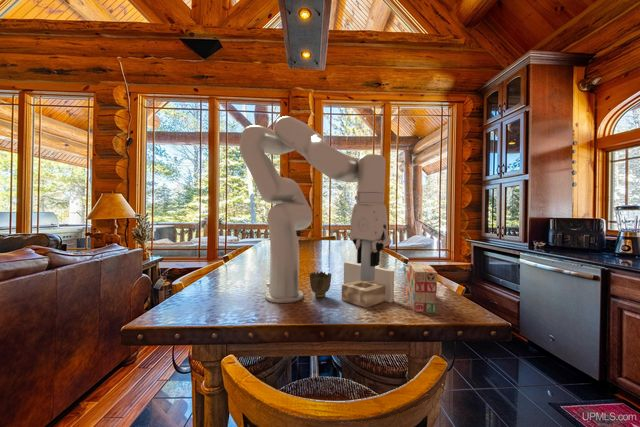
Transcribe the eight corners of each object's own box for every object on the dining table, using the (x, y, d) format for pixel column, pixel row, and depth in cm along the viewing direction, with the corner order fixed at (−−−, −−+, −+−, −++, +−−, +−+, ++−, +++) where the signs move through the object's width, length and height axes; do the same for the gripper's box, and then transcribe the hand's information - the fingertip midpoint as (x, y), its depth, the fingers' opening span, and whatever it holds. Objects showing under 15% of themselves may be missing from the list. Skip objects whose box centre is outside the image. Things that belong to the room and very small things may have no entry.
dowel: (357, 278, 81) (359, 236, 81) (365, 276, 84) (367, 235, 84) (369, 281, 79) (371, 237, 78) (377, 279, 82) (379, 237, 81)
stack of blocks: (404, 291, 105) (404, 257, 105) (421, 292, 104) (422, 258, 104) (414, 312, 84) (414, 270, 84) (436, 314, 83) (437, 271, 83)
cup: (335, 297, 97) (336, 273, 97) (321, 302, 92) (321, 277, 92) (319, 292, 102) (319, 270, 102) (304, 297, 97) (304, 273, 97)
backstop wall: (343, 289, 107) (343, 262, 107) (347, 288, 108) (347, 261, 108) (390, 302, 92) (390, 271, 92) (393, 301, 94) (394, 270, 94)
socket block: (341, 299, 94) (341, 284, 94) (360, 293, 101) (360, 279, 101) (366, 307, 87) (366, 291, 87) (385, 300, 94) (385, 285, 94)
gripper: (339, 198, 84) (337, 261, 85) (388, 199, 72) (385, 272, 73) (355, 199, 89) (353, 258, 90) (404, 200, 77) (401, 268, 78)
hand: (367, 263), depth 81 cm, fingers closed on dowel, 4 cm apart
